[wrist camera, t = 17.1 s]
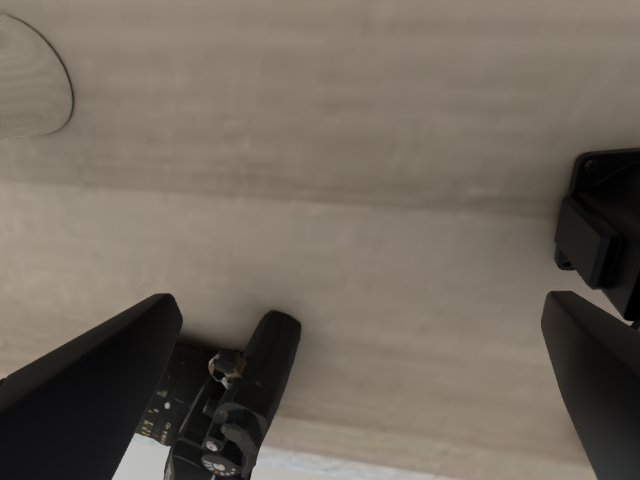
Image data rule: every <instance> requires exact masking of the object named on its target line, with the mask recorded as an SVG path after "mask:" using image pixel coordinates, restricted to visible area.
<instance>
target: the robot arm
mask: <svg viewBox="0 0 640 480" xmlns="http://www.w3.org/2000/svg"><path fill="white" fill-rule="evenodd" d="M589 160H593V163H592V165H591V166H589V167H585V164H586V162H588V161H589ZM554 240H555V243H556V244H557V250H556V255H555V263H556V264H557V266H558V267H559V268H560V269H561V270H576V271H577V272H578V273H579V275H580V276H581V277H582V279H583V280H584V281H585V283H586V284H587V285H588V286H589V287H590V288H592V289H593V290H602V291H603V293H604V294H605V295H606V297H607V298H608V299H609V300H610V302H611V303H612V304H613V305H614V307H615V308H616V309H617V310H618V312H619V313H620V314H621V316H622V317H623V318H624V319H625V320H627V321H634V322H633V323H632V325H631V326H629V325H627V324H625V323H624V322H622V321H620V320H619V319H617V318H615V317H614V316H612V315H610V314H609V313H607V312H605V311H604V310H602V309H600V308H599V307H597V306H596V305H594V304H592V303H591V302H589V301H587V300H586V299H584V298H582V297H581V296H579V295H577V294H576V293H574V292H572V291H550V292H549V293H548V294H547V296H546V300H545V305H544V309H543V314H542V319H541V328H542V333H543V336H544V339H545V343H546V346H547V349H548V353H549V356H550V359H551V363H552V366H553V369H554V372H555V376H556V379H557V382H558V386H559V389H560V392H561V395H562V398H563V400H564V403H565V405H566V408H567V410H568V413H569V415H570V417H571V420H572V422H573V424H574V426H575V429H576V431H577V433H578V436H579V438H580V440H581V443H582V445H583V447H584V449H585V452H586V454H587V456H588V459H589V461H590V463H591V466H592V468H593V470H594V473H595V475H596V477H597V479H598V480H640V148H632V149H620V150H607V151H595V152H587V153H584V154H582V155H580V156H579V157H578V159H577V160H576V162H575V166H574V171H573V175H572V180H571V185H570V189H569V194H568V195H567V196H566V197H565V198H564V199H563V201H562V206H561V210H560V215H559V220H558V225H557V230H556V234H555V239H554ZM566 259H568V260H569V261H567V262H565V263H563V261H564V260H566ZM182 324H183V317H182V314H181V312H180V310H179V307H178V305H177V303H176V301H175V298H174V297H173V296H172V295H171V294H169V293H158V294H154V295H152V296H150V297H149V298H147V299H145V300H143V301H141V302H140V303H138V304H136V305H134V306H132V307H131V308H129V309H127V310H125V311H123V312H122V313H120V314H118V315H116V316H114V317H113V318H111V319H109V320H107V321H105V322H104V323H102V324H100V325H98V326H96V327H95V328H93V329H91V330H89V331H87V332H86V333H84V334H82V335H80V336H78V337H77V338H75V339H73V340H71V341H69V342H68V343H66V344H64V345H62V346H60V347H59V348H57V349H55V350H53V351H51V352H50V353H48V354H46V355H44V356H42V357H41V358H39V359H37V360H35V361H33V362H32V363H30V364H28V365H26V366H24V367H23V368H21V369H19V370H17V371H16V372H14V373H12V374H10V375H8V376H7V378H3V379H1V380H0V480H112V478H113V476H114V474H115V472H116V470H117V468H118V466H119V464H120V462H121V460H122V458H123V456H124V454H125V452H126V450H127V448H128V446H129V443H130V442H131V440H132V438H133V436H134V434H135V432H136V430H137V428H138V426H139V424H140V422H141V420H142V417H143V415H144V413H145V411H146V409H147V407H148V405H149V403H150V401H151V399H152V397H153V395H154V393H155V391H156V389H157V387H158V385H159V383H160V381H161V379H162V377H163V374H164V372H165V369H166V367H167V364H168V361H169V359H170V356H171V354H172V351H173V348H174V346H175V343H176V340H177V338H178V335H179V333H180V330H181V327H182Z"/></svg>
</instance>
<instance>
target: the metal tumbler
mask: <svg viewBox="0 0 640 480" xmlns="http://www.w3.org/2000/svg"><path fill="white" fill-rule="evenodd" d="M71 111H72V91H71V86H70V82H69V79H68V76H67V74H66V71H65V69H64V67H63V65H62V63H61V62H60V60H59V58H58V57H57V55H56V54H55V52H54V51H53V50H52V48H51V47H50V46H49V45H48V43H47V42H46V41H45V40H44V39H43V38H42V37H41V36H40V35H39V34H38V33H37V32H35V31H34V30H33V29H32V28H30V27H29V26H27V25H26V24H24V23H23V22H21V21H19V20H17V19H15V18H12V17H9V16H6V15H1V14H0V140H3V139H7V138H13V137H23V136H35V135H45V134H50V133H53V132H55V131H57V130H59V129H60V128H62V127H63V126H64V125H65V124H66V122H67V121H68V119H69V117H70V115H71Z"/></svg>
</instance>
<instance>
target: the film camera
mask: <svg viewBox="0 0 640 480" xmlns="http://www.w3.org/2000/svg"><path fill="white" fill-rule="evenodd" d="M300 333H301V325H300V324H299V323H298V322H297V321H295V320H294V319H292V318H291V317H290V316H288V315H286V314H282V313H278V312H272V311H271V312H269V313H267V314H266V315H265V316H264V317H263V318H262V319H261V321H260V322H259V324H258V326H257V327H256V329H255V331H254V333H253V335H252V338H251V340H250V342H249V344H248V346H247V348H246V350H245V352H244V353H239V352H236V351H235V350H230V349H221V350H220V351H219V353H218V354H213V353H212V352H207V351H201V349H197V348H194V347H189V346H186V345H184V344H180V343H179V344H175V346H174V348H173V351H172V354H171V356H170V359H169V361H168V364H167V367H166V369H165V372H164V374H163V377H162V379H161V381H160V383H159V385H158V387H157V389H156V391H155V393H154V395H153V397H152V399H151V401H150V403H149V405H148V407H147V409H146V411H145V413H144V415H143V417H142V420H141V422H140V424H139V426H138V428H137V430H136V432H135V433H138V434H140V435H143V436H146V437H149V438H152V439H155V440H156V441H158V442H159V443H161V444H162V445H165V446H171V448H170V451H169V455H168V458H167V461H166V465H165V470H164V480H250V478H251V473H252V469H253V467H254V466H255V465H256V460H257V456H258V452H259V449H260V447H261V444H262V442H263V440H264V438H265V435H266V433H267V431H268V429H269V427H270V425H271V422H272V420H273V418H274V415H275V413H276V411H277V409H278V406H279V403H280V400H281V398H282V395H283V393H284V390H285V387H286V384H287V381H288V378H289V374H290V370H291V367H292V365H293V362H294V359H295V355H296V350H297V347H298V343H299V340H300Z"/></svg>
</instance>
